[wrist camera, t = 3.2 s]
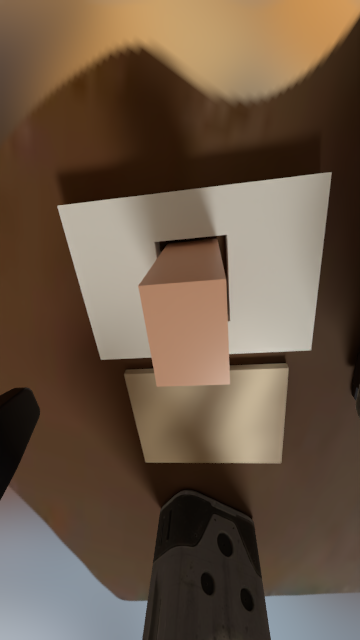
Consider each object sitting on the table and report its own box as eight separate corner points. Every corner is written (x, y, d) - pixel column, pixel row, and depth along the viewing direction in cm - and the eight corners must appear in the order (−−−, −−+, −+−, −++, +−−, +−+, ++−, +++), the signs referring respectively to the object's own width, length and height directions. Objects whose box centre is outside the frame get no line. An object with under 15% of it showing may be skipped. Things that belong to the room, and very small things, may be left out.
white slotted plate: (319, 173, 14) (331, 172, 13) (303, 338, 18) (311, 350, 17) (69, 204, 16) (57, 205, 15) (107, 348, 20) (100, 359, 19)
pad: (286, 363, 19) (288, 368, 19) (279, 456, 24) (281, 463, 23) (126, 369, 21) (123, 374, 20) (146, 456, 25) (145, 462, 25)
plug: (217, 238, 16) (225, 279, 9) (220, 306, 18) (230, 384, 11) (167, 243, 16) (138, 285, 9) (175, 309, 18) (157, 386, 11)
